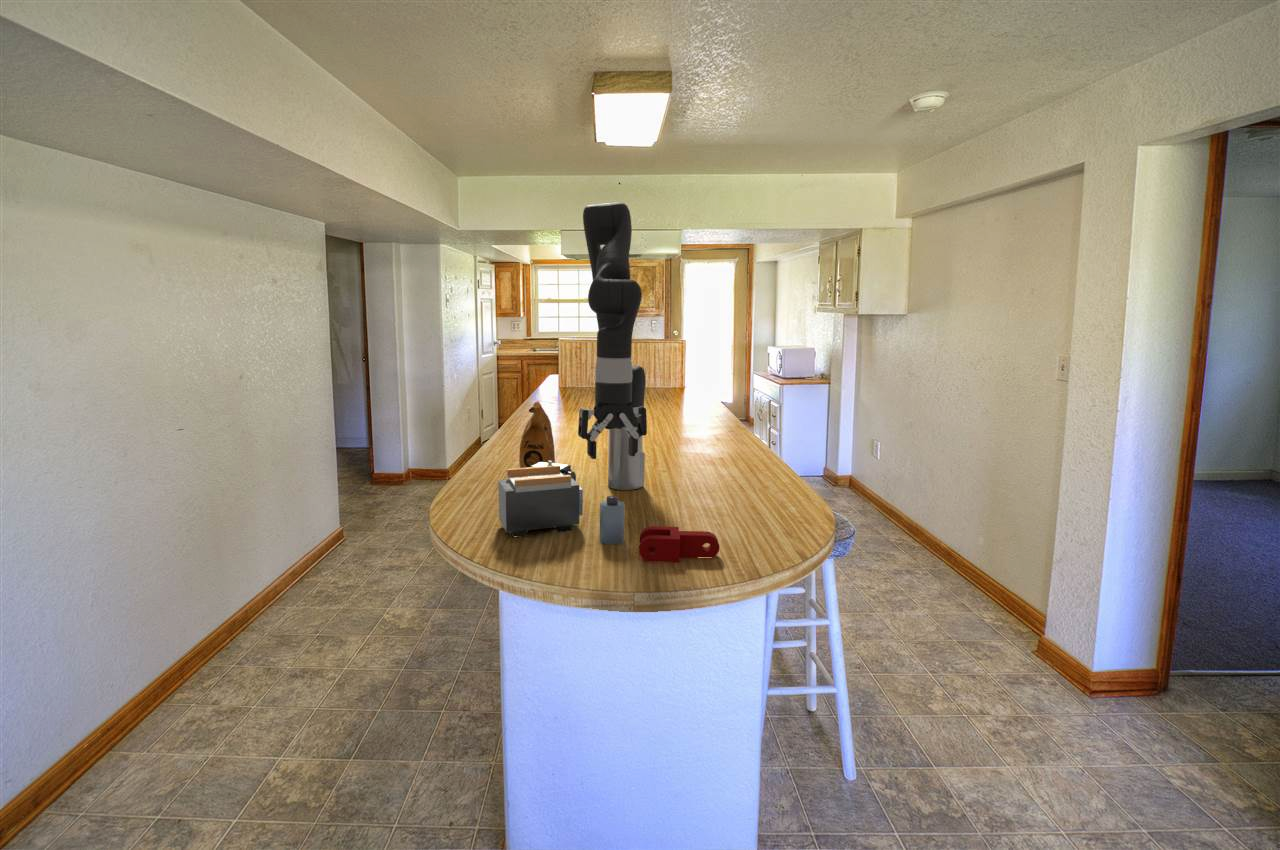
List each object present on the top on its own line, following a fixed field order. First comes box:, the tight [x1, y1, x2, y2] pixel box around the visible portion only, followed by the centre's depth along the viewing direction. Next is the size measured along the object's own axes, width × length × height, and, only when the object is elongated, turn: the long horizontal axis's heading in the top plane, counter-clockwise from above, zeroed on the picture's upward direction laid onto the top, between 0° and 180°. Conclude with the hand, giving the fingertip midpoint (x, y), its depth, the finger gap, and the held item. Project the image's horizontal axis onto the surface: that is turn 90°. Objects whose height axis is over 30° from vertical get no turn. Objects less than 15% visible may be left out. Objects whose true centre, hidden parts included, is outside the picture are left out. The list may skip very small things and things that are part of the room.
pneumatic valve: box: [529, 461, 577, 482], centre depth 159 cm, size 6×12×12 cm, turn 72°
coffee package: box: [518, 401, 556, 468], centre depth 181 cm, size 10×12×22 cm
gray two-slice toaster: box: [497, 465, 584, 538], centre depth 145 cm, size 17×10×13 cm, turn 112°
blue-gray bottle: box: [599, 495, 626, 546], centre depth 139 cm, size 5×5×10 cm
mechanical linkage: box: [638, 525, 720, 563], centre depth 132 cm, size 16×7×5 cm, turn 89°
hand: (612, 457), depth 136 cm, fingers open, 8 cm apart
